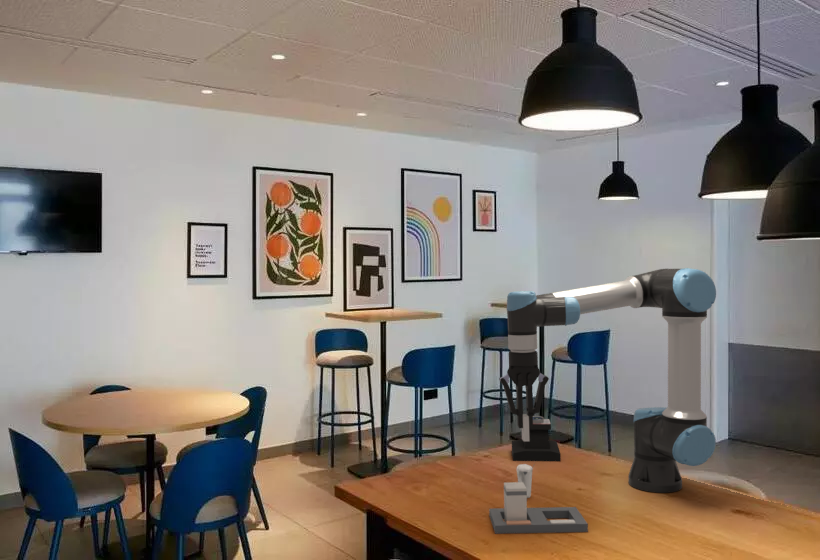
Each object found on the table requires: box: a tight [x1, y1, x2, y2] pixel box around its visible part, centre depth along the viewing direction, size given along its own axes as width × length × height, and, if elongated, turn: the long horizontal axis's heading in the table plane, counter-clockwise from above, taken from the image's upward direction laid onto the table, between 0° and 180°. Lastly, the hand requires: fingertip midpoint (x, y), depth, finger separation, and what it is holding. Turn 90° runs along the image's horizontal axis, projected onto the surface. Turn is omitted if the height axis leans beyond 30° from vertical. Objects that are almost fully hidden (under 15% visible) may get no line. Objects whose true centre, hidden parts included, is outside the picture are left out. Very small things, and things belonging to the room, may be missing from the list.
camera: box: [511, 415, 562, 462], centre depth 239 cm, size 16×14×15 cm
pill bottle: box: [516, 463, 535, 499], centre depth 197 cm, size 5×5×10 cm
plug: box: [503, 481, 528, 522], centre depth 176 cm, size 5×5×10 cm
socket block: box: [488, 506, 589, 535], centre depth 176 cm, size 23×12×2 cm, turn 90°
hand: (525, 439), depth 180 cm, fingers closed
